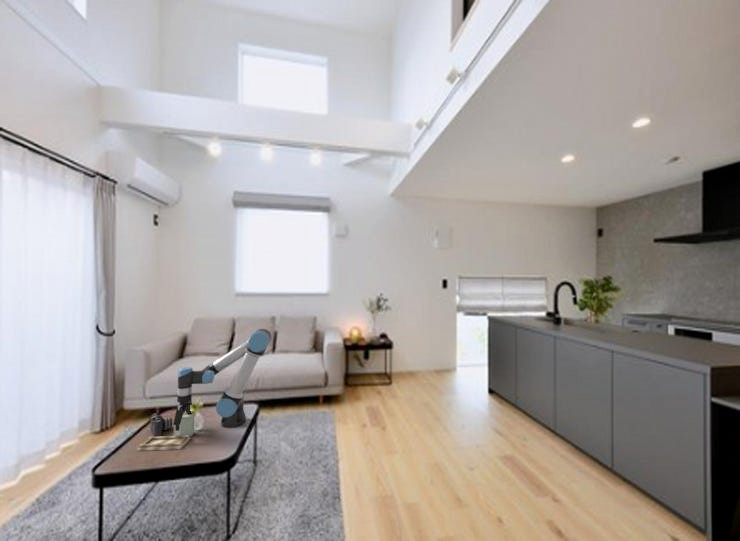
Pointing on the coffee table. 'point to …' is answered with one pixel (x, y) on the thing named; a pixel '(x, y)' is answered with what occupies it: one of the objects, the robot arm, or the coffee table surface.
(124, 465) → the coffee table surface
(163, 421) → the camera
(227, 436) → the coffee table surface
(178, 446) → the track board
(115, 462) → the coffee table surface
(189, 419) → the pale green block
